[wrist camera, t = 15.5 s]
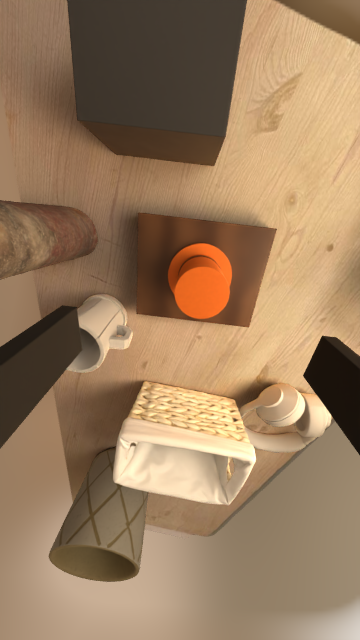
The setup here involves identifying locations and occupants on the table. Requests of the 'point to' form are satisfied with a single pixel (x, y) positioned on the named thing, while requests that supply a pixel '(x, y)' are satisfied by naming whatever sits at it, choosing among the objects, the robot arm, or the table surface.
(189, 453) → the basket
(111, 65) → the television
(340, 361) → the robot arm
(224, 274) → the hat
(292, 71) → the table surface
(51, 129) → the table surface
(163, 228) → the brown wooden board
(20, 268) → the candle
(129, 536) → the planter
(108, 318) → the cup
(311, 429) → the headphones
